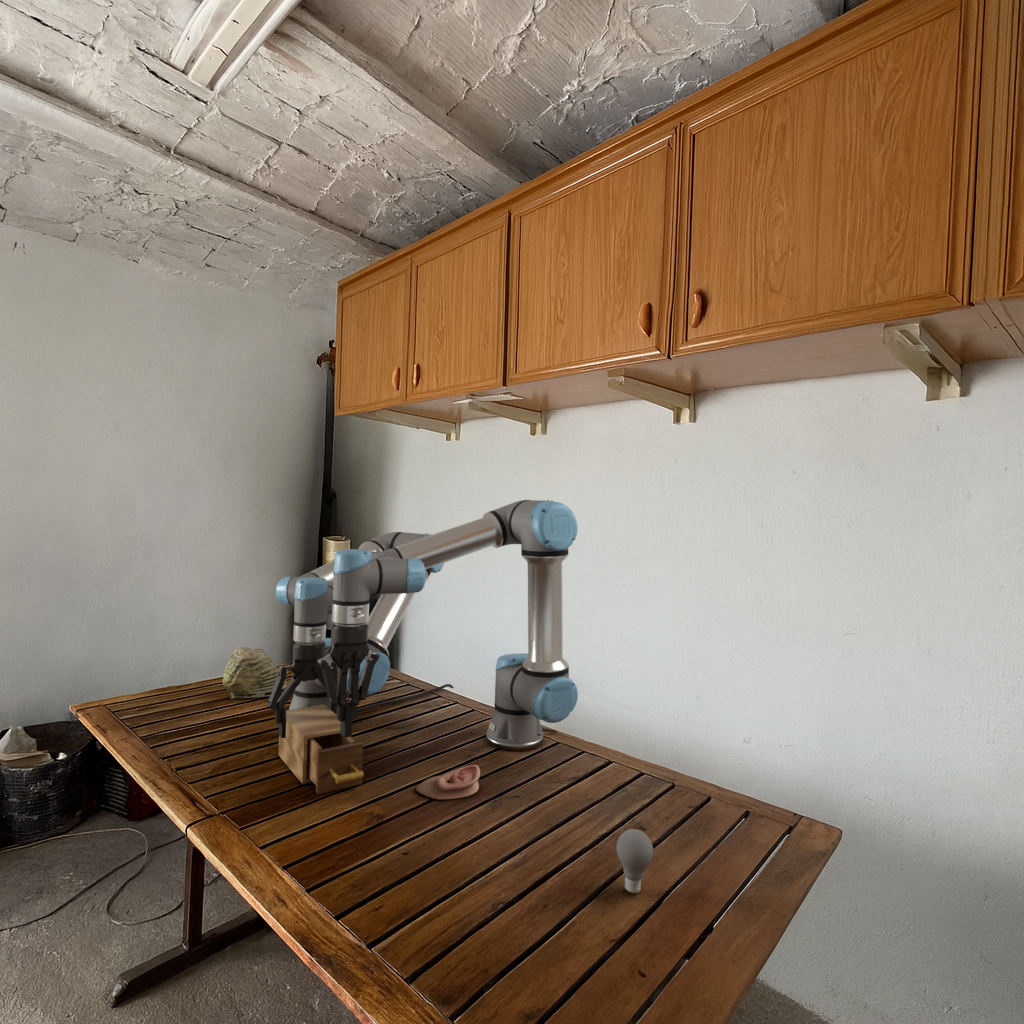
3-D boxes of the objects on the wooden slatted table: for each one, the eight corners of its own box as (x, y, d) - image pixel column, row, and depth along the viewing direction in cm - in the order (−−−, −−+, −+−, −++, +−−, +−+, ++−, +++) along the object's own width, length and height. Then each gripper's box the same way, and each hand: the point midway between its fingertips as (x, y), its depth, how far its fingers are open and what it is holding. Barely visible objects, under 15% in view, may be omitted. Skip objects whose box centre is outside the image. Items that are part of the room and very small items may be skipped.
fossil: (218, 695, 195) (220, 647, 195) (278, 685, 208) (279, 640, 207) (228, 703, 189) (230, 653, 188) (289, 692, 201) (290, 645, 201)
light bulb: (610, 879, 108) (613, 822, 108) (644, 879, 109) (647, 822, 109) (619, 902, 102) (622, 840, 102) (655, 901, 103) (658, 840, 103)
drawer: (372, 794, 133) (373, 752, 133) (327, 805, 128) (328, 761, 127) (333, 756, 152) (334, 719, 152) (292, 764, 147) (293, 726, 146)
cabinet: (350, 773, 145) (351, 727, 145) (302, 784, 139) (303, 735, 138) (322, 746, 160) (323, 704, 160) (278, 755, 154) (279, 711, 154)
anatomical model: (411, 777, 135) (429, 756, 147) (410, 795, 136) (428, 773, 147) (471, 785, 133) (484, 763, 144) (470, 804, 133) (483, 781, 144)
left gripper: (263, 650, 144) (260, 746, 144) (361, 640, 157) (358, 728, 158) (255, 643, 150) (252, 735, 150) (350, 634, 163) (346, 719, 164)
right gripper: (325, 629, 126) (321, 747, 126) (386, 624, 133) (382, 735, 134) (313, 622, 132) (309, 734, 132) (372, 617, 139) (368, 724, 140)
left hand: (306, 731), depth 154 cm, fingers closed on cabinet, 11 cm apart
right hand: (345, 735), depth 133 cm, fingers closed
